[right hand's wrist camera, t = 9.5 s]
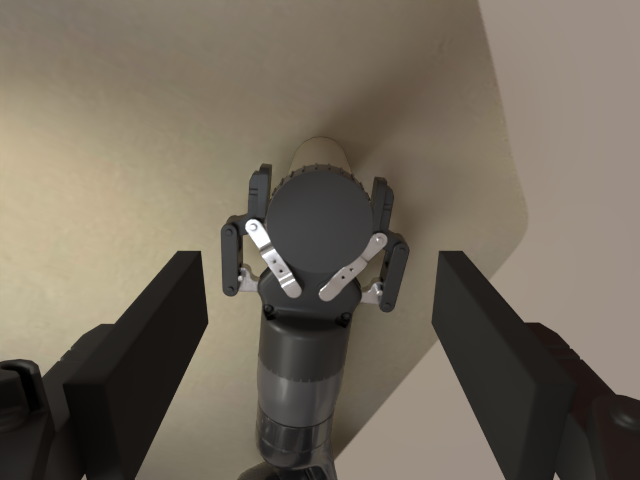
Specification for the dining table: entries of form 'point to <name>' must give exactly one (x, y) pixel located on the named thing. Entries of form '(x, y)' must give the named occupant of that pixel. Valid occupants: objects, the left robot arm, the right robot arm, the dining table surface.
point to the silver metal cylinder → (319, 154)
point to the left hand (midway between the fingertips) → (323, 172)
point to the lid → (319, 218)
